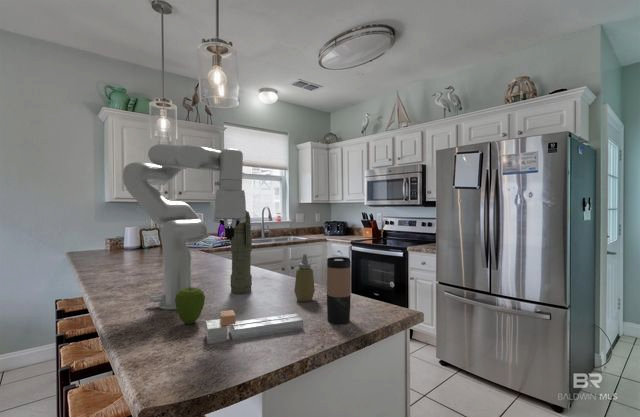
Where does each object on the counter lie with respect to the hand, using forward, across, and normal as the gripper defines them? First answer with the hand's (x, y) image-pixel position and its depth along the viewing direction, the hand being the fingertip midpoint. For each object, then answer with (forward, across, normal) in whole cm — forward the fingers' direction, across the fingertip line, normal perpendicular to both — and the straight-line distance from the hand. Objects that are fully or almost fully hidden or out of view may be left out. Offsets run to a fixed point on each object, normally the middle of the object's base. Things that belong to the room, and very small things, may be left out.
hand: (229, 239), depth 109 cm
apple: (+26, -12, -6) cm, 29 cm away
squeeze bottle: (+25, +30, +6) cm, 40 cm away
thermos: (+26, +8, +27) cm, 39 cm away
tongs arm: (+25, +10, -18) cm, 32 cm away
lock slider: (+21, -1, -20) cm, 29 cm away
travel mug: (+25, +33, -20) cm, 46 cm away
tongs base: (+25, +6, -20) cm, 33 cm away
